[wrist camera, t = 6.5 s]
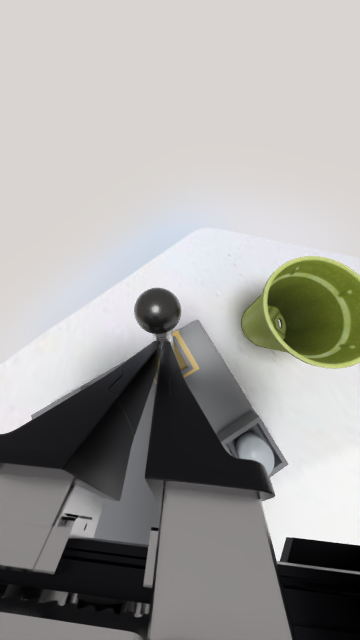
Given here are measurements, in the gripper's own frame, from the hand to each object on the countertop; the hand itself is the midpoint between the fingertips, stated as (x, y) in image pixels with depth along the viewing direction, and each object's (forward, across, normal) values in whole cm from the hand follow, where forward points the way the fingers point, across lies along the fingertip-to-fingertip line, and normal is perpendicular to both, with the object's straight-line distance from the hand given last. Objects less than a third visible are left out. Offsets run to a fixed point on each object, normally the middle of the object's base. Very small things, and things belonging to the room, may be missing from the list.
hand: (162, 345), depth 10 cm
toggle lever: (+3, 0, -5) cm, 6 cm away
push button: (-2, +9, -12) cm, 15 cm away
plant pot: (+10, +12, -4) cm, 16 cm away
